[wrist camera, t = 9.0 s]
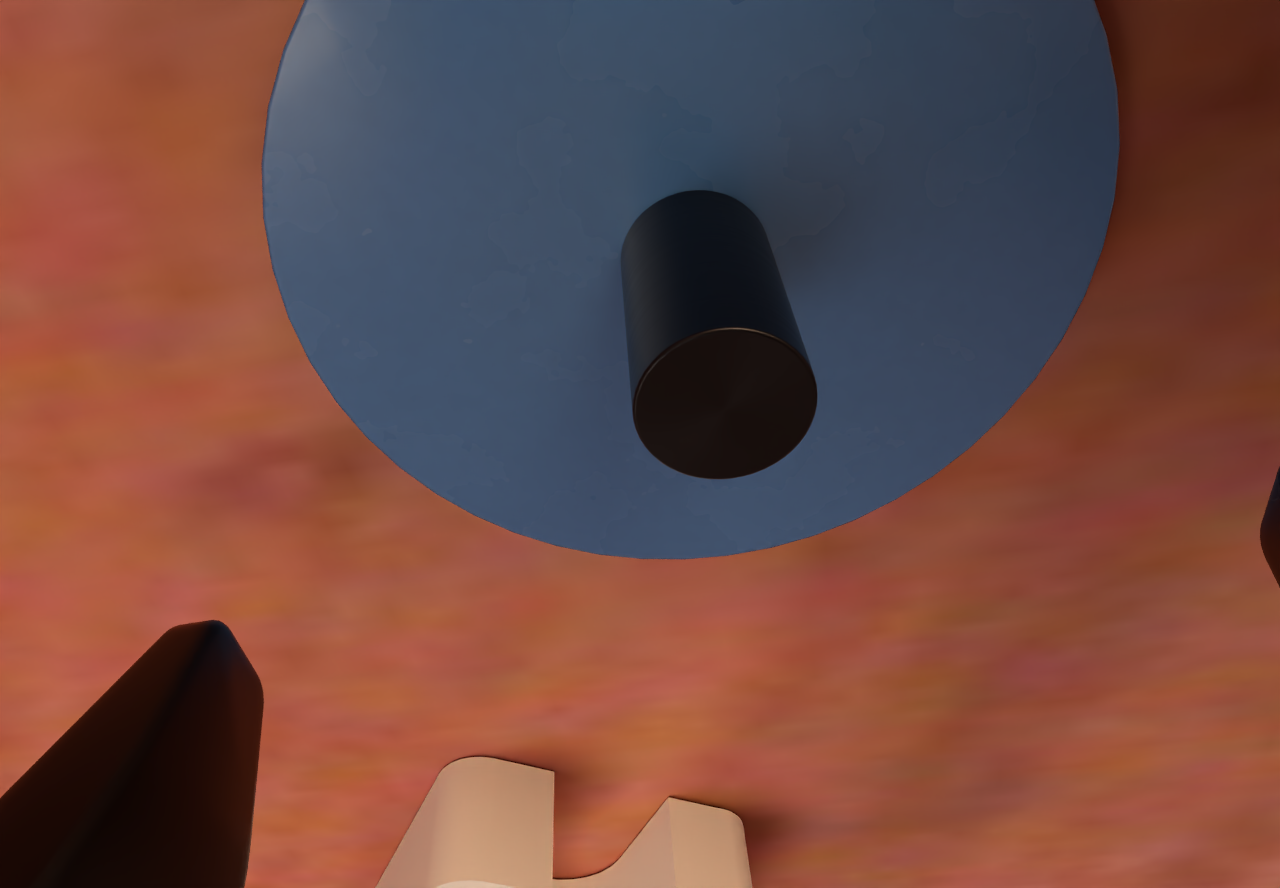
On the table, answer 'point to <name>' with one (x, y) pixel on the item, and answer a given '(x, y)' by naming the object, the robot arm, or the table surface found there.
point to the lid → (685, 246)
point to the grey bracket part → (523, 838)
